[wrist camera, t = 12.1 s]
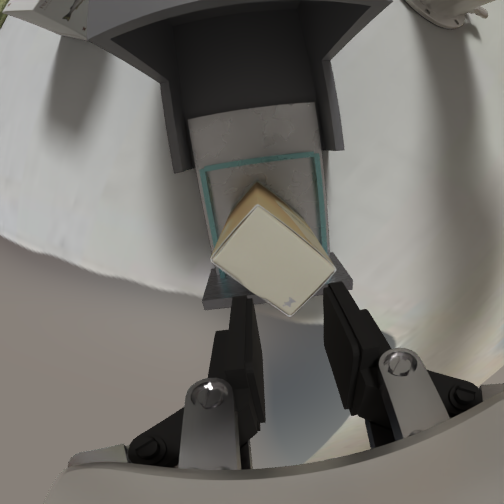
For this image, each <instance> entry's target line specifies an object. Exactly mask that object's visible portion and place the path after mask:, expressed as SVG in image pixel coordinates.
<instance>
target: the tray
mask: <svg viewBox="0 0 504 504" xmlns="http://www.w3.org/2000/svg"><path fill="white" fill-rule="evenodd" d="M188 125H189V132H190V138H191V144H192V150H193V156H194V162H195V167H196V173H197V178H198V184H199V189H200V195H201V200H202V205H203V210H204V215H205V220H206V225H207V230H208V235H209V240H210V245H211V250H212V253H213V250H214V248H215V246H216V244H217V241H218V239H219V237H220V235H221V232H222V230H223V228H224V225H225V223H226V221H227V218H228V216H229V214H230V212H231V210H232V209H233V208H234V206H235V205H236V204H237V203H238V201H239V200H240V199H241V198H242V197H243V195H244V194H245V193H246V192H247V191H248V190H249V188H250V187H251V186H252V185H253V184H254V183H255V182H256V181H259V182H260V183H262V184H263V185H264V186H266V187H267V188H268V189H270V190H271V191H272V192H274V193H275V194H276V195H278V196H279V197H280V198H281V199H282V200H284V201H285V202H286V203H287V204H288V205H290V206H291V207H292V208H293V209H294V210H295V211H296V212H297V213H298V214H300V215H301V216H302V217H303V218H304V220H305V221H306V223H307V224H308V226H309V227H310V229H311V230H312V232H313V233H314V235H315V236H316V238H317V239H318V241H319V243H320V244H321V246H322V247H323V249H324V250H325V252H326V254H327V255H328V257H329V258H330V260H331V261H332V263H333V264H334V266H335V267H336V272H335V273H334V274H333V275H332V276H331V277H330V278H329V280H328V281H327V282H326V283H325V284H324V285H323V286H322V287H321V288H320V289H319V290H318V291H317V292H316V293H315V294H314V295H313V296H317V295H323V288H325V287H328V283H333V282H339V281H342V282H343V283H344V285H345V286H346V288H347V290H352V287H353V280H352V278H351V277H350V275H349V274H348V273H347V271H346V270H345V268H344V267H343V265H342V264H341V263H340V261H339V260H338V259H337V257H336V256H335V254H334V253H333V252H330V248H329V229H328V214H327V200H326V189H325V178H324V168H323V159H322V151H321V143H320V135H319V128H318V121H317V114H316V108H315V102H312V103H296V104H284V105H274V106H265V107H257V108H249V109H242V110H236V111H229V112H224V113H218V114H213V115H207V116H202V117H198V118H193V119H188ZM243 295H247V298H253V303H254V304H262V303H268V302H266V301H265V300H263V299H262V298H260V297H259V296H257V295H256V294H254V293H252V292H251V291H250V290H248V289H247V288H246V287H244V286H243V285H242V284H240V283H239V282H238V281H236V280H235V279H233V278H232V277H231V276H229V275H228V274H226V273H225V272H224V271H222V270H221V269H220V268H218V267H217V266H216V265H215V269H211V273H210V276H209V279H208V283H207V286H206V289H205V293H204V296H203V299H202V303H203V306H204V310H211V309H220V308H229V307H231V305H232V297H235V296H243Z"/></svg>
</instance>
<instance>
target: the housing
mask: <svg viewBox="0 0 504 504" xmlns="http://www.w3.org/2000/svg"><path fill="white" fill-rule="evenodd" d="M392 2H393V1H392V0H89V3H88V16H87V41H89V42H91V43H93V44H95V45H97V46H99V47H100V48H102V49H104V50H106V51H108V52H109V53H111V54H113V55H115V56H116V57H118V58H120V59H122V60H123V61H125V62H127V63H128V64H130V65H132V66H133V67H135V68H136V69H138V70H140V71H141V72H143V73H145V74H146V75H148V76H149V77H151V78H152V79H154V80H156V81H157V82H159V83H160V86H161V94H162V101H163V109H164V116H165V122H166V129H167V135H168V141H169V147H170V153H171V158H172V164H173V170H174V173H179V172H183V171H186V170H189V169H192V168H196V167H195V162H194V156H193V150H192V144H191V138H190V132H189V125H188V119H193V118H198V117H202V116H207V115H213V114H218V113H224V112H229V111H236V110H242V109H249V108H257V107H265V106H274V105H284V104H296V103H312V102H315V108H316V114H317V121H318V128H319V135H320V143H321V150H331V151H340V150H344V142H343V134H342V126H341V119H340V112H339V106H338V99H337V93H336V88H335V82H334V77H333V72H332V67H331V62H330V60H331V59H332V58H333V57H334V56H335V55H336V54H337V53H338V52H339V51H340V50H341V49H342V48H343V47H344V46H345V45H346V44H347V43H348V42H349V41H350V40H351V39H352V38H353V37H354V36H355V35H356V34H358V33H359V32H360V31H361V30H362V29H363V28H364V27H365V26H366V25H367V24H368V23H369V22H370V21H371V20H373V19H374V18H375V17H376V16H377V15H378V14H379V13H380V12H381V11H383V10H384V9H385V8H386V7H387V6H388V5H389V4H391V3H392Z"/></svg>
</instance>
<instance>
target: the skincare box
mask: <svg viewBox="0 0 504 504" xmlns="http://www.w3.org/2000/svg"><path fill="white" fill-rule="evenodd" d="M210 261H211V262H212V263H213V264H214V265H216V266H217V267H218V268H220V269H221V270H222V271H224V272H225V273H226V274H228V275H229V276H231V277H232V278H233V279H235V280H236V281H238V282H239V283H240V284H242V285H243V286H244V287H246V288H247V289H248V290H250V291H251V292H252V293H254V294H256V295H257V296H259V297H260V298H262V299H263V300H265V301H266V302H268V303H269V304H270V305H272V306H273V307H275V308H276V309H278V310H279V311H281V312H282V313H284V314H285V315H286V316H288V317H291V316H293V315H294V314H295V313H296V312H297V311H298V310H299V309H300V308H301V307H302V306H303V305H304V304H305V303H306V302H307V301H308V300H309V299H310V298H311V297H312V296H313V295H314V294H315V293H316V292H317V291H318V290H319V289H320V288H321V287H322V286H323V285H324V284H325V283H326V282H327V281H328V280H329V278H330V277H331V276H332V275H333V274H334V273H335V272H336V267H335V266H334V264H333V263H332V261H331V260H330V258H329V257H328V255H327V254H326V252H325V250H324V249H323V247H322V246H321V244H320V243H319V241H318V239H317V238H316V236H315V235H314V233H313V232H312V230H311V229H310V227H309V226H308V224H307V223H306V221H305V220H304V218H303V217H302V216H301V215H300V214H298V213H297V212H296V211H295V210H294V209H293V208H292V207H291V206H290V205H288V204H287V203H286V202H285V201H284V200H282V199H281V198H280V197H279V196H278V195H276V194H275V193H274V192H272V191H271V190H270V189H268V188H267V187H266V186H264V185H263V184H262V183H260V182H259V181H256V182H255V183H254V184H253V185H252V186H251V187H250V188H249V190H248V191H247V192H246V193H245V194H244V195H243V197H242V198H241V199H240V200H239V201H238V203H237V204H236V205H235V206H234V208H233V209H232V210H231V212H230V214H229V216H228V218H227V221H226V223H225V225H224V228H223V230H222V232H221V235H220V237H219V239H218V241H217V244H216V246H215V248H214V250H213V253H212V255H211V257H210Z"/></svg>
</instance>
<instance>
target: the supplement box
mask: <svg viewBox="0 0 504 504" xmlns="http://www.w3.org/2000/svg"><path fill="white" fill-rule="evenodd" d="M88 3H89V0H10V1H9V2H8V4H7V5H6V7H5V8H4V10H3V11H2V13H4V14H7V15H10V16H13V17H16V18H19V19H21V20H24V21H27V22H29V23H32V24H35V25H37V26H40V27H42V28H45V29H47V30H49V31H52V32H54V33H56V34H59V35H61V36H67V37H72V38H77V39H81V40H85V41H87V16H88Z"/></svg>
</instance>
